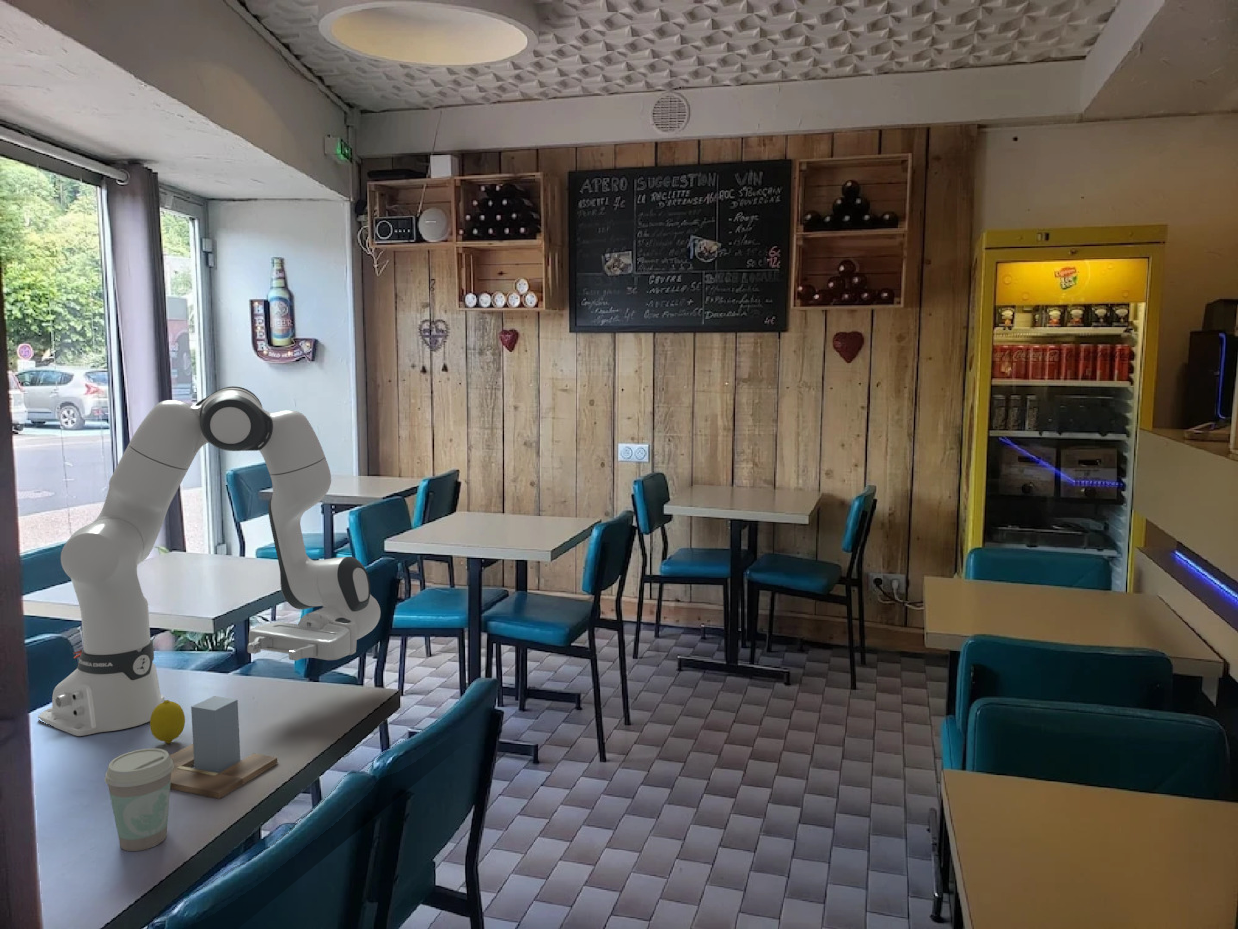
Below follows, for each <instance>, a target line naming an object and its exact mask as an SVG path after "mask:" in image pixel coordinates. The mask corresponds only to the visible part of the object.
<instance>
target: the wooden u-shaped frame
mask: <svg viewBox="0 0 1238 929" xmlns="http://www.w3.org/2000/svg"><path fill="white" fill-rule="evenodd" d="M169 756H170V758H171V759H172V761H173V765H174V768H173V770H172V771H171V783H170V790H174V791H175V790H176V791H180V792H185V793H189V794H194V793H195V795H199V796H204V797H208V798H213V799H219V800H220V799H221V798H224V797H225V796H227V795H228V794H230V793H231V792H233V791H235V790H236V789H238V788H239V787H241V786H242V785H245V784H246V783H248V782H249V781H251V780H252V779H254V778H256V777H257V776H259V775H261V774H263V773H264V772H265V771H268V769H271V768H272V767H274V766H275V765H277V764H279V763H278V760H279V759H278V757H276V756H270V755H265V754H259V753H252V754H250V755H249V756H246V757H245V758H243V759H242V760H241V759H240V762H238V763H236V764H234V765H233V766H231V767H229V768H227V769H226V770H224V771H222V772H220V773H219V774H218V773H215V772H210V771H205V770H199V769H194V767H193V766H194V750H193V743H191V744H189V745H187V746H185V747H183V748H181V749H179V750H178V751H176V752H173V753H172V754H169Z"/></svg>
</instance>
